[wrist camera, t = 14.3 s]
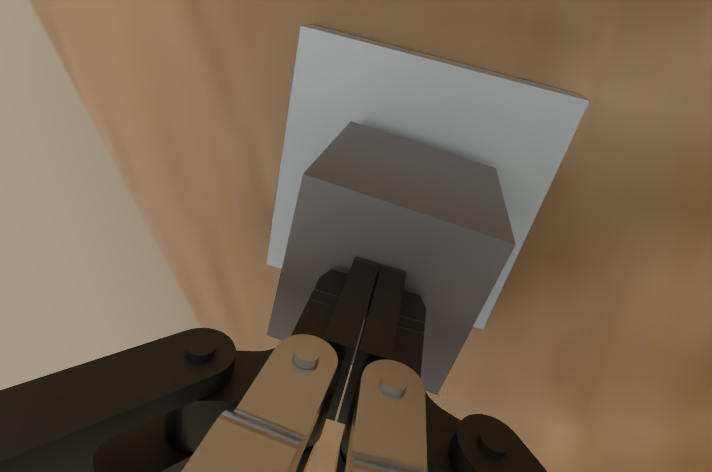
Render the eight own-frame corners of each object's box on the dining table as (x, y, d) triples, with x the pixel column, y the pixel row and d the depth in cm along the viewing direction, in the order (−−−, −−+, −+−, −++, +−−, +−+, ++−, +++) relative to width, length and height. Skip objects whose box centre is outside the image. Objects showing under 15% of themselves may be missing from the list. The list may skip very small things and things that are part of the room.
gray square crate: (496, 168, 16) (515, 244, 11) (442, 287, 19) (437, 394, 14) (350, 120, 17) (303, 173, 11) (317, 245, 19) (267, 335, 14)
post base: (579, 94, 17) (672, 158, 10) (481, 310, 23) (494, 457, 15) (311, 24, 18) (213, 35, 11) (276, 249, 24) (194, 361, 16)
